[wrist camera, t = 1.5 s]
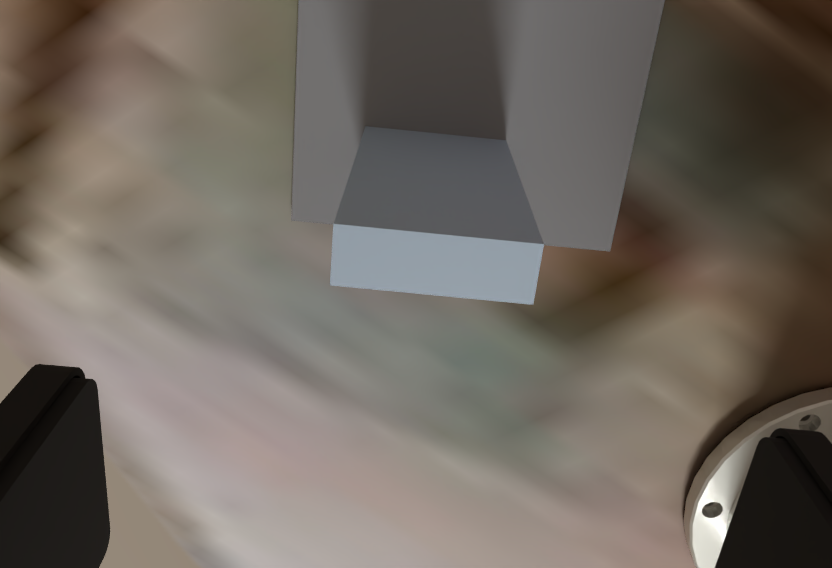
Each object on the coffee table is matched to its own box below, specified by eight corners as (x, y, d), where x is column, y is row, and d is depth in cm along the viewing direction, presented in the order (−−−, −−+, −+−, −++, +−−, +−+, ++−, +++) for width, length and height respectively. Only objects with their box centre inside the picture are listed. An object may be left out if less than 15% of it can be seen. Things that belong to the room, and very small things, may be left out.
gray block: (505, 140, 27) (543, 244, 18) (499, 183, 28) (533, 304, 19) (365, 126, 27) (333, 223, 18) (362, 170, 28) (329, 285, 19)
